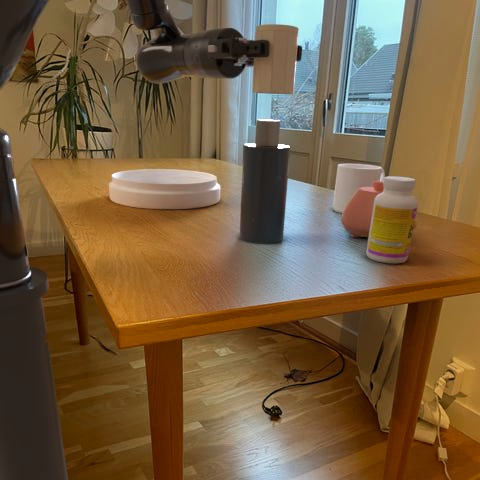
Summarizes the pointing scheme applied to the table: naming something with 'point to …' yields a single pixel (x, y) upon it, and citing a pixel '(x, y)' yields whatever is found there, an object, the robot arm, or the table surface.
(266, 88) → the beige faceted cylinder
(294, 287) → the table surface
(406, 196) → the supplement bottle
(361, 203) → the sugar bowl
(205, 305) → the table surface
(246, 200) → the flask
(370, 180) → the mug
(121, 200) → the plate
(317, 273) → the table surface
